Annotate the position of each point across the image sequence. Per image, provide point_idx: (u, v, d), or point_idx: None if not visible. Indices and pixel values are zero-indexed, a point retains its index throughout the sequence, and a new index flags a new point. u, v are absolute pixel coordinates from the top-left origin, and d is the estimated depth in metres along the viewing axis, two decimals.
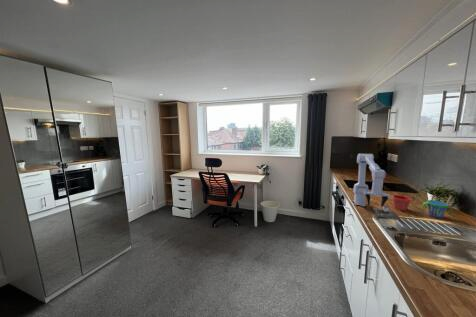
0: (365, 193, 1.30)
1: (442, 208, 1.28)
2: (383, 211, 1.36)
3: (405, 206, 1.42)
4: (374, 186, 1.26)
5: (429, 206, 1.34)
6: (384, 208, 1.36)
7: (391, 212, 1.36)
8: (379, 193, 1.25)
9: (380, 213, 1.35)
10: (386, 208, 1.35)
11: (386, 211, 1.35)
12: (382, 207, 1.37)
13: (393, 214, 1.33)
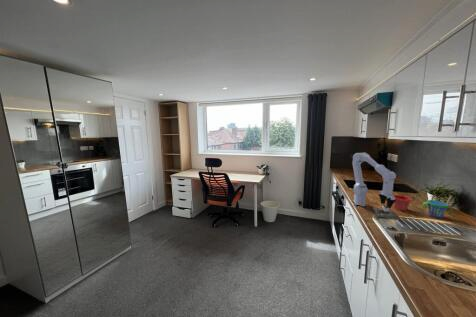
0: (380, 191, 1.42)
1: (442, 208, 1.28)
2: (383, 211, 1.36)
3: (405, 206, 1.42)
4: (388, 187, 1.32)
5: (429, 206, 1.34)
6: (384, 208, 1.36)
7: (391, 212, 1.36)
8: (384, 193, 1.34)
9: (380, 213, 1.35)
10: (386, 208, 1.35)
11: (386, 211, 1.35)
12: (382, 207, 1.37)
13: (393, 214, 1.33)
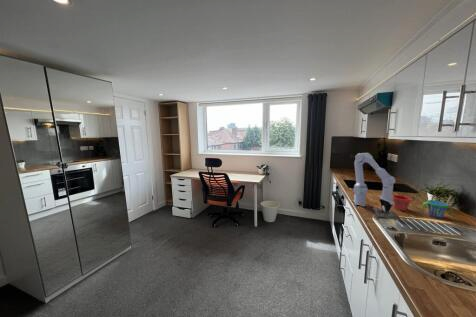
0: (379, 196, 1.42)
1: (442, 208, 1.28)
2: (383, 211, 1.36)
3: (405, 206, 1.42)
4: (387, 192, 1.32)
5: (429, 206, 1.34)
6: (384, 208, 1.36)
7: (391, 212, 1.36)
8: (383, 197, 1.35)
9: (380, 213, 1.35)
10: None
11: None
12: (382, 207, 1.37)
13: (393, 214, 1.33)
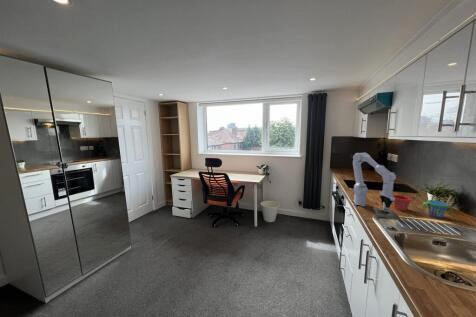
0: (380, 192, 1.42)
1: (442, 208, 1.28)
2: (383, 208, 1.36)
3: (405, 206, 1.42)
4: (387, 188, 1.32)
5: (429, 206, 1.34)
6: (384, 205, 1.35)
7: (391, 212, 1.36)
8: (384, 193, 1.34)
9: (380, 213, 1.35)
10: None
11: (386, 208, 1.35)
12: None
13: (393, 214, 1.33)
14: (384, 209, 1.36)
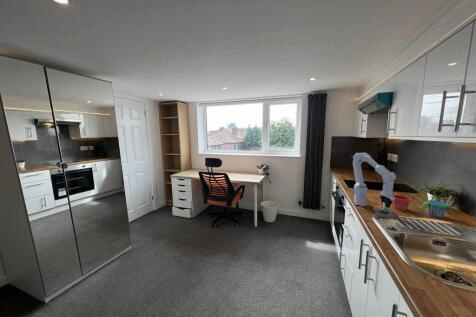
0: (380, 192, 1.42)
1: (442, 208, 1.28)
2: (383, 208, 1.36)
3: (405, 206, 1.42)
4: (387, 188, 1.32)
5: (429, 206, 1.34)
6: (384, 205, 1.35)
7: (391, 212, 1.36)
8: (384, 193, 1.34)
9: (380, 213, 1.35)
10: None
11: (386, 208, 1.35)
12: None
13: (393, 214, 1.33)
14: (384, 209, 1.36)
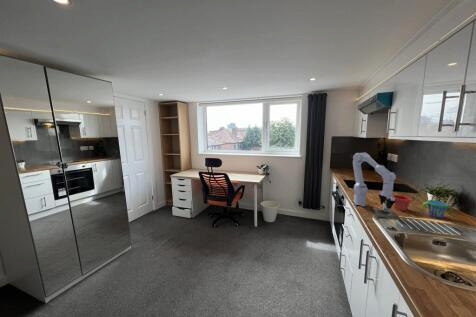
0: (380, 192, 1.42)
1: (442, 208, 1.28)
2: (383, 208, 1.36)
3: (405, 206, 1.42)
4: (387, 188, 1.32)
5: (429, 206, 1.34)
6: (384, 205, 1.35)
7: (391, 212, 1.36)
8: (384, 193, 1.34)
9: (380, 213, 1.35)
10: (386, 205, 1.35)
11: (386, 208, 1.35)
12: None
13: (393, 214, 1.33)
14: (384, 209, 1.36)
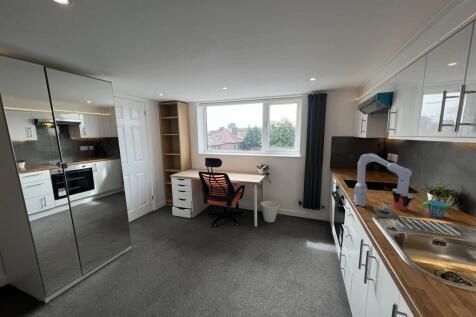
0: (393, 190, 1.35)
1: (442, 208, 1.28)
2: (383, 208, 1.36)
3: None
4: (404, 185, 1.25)
5: (429, 206, 1.34)
6: (384, 205, 1.35)
7: (391, 212, 1.36)
8: (399, 191, 1.28)
9: (380, 213, 1.35)
10: (386, 205, 1.35)
11: (386, 208, 1.35)
12: None
13: (393, 214, 1.33)
14: (384, 209, 1.36)
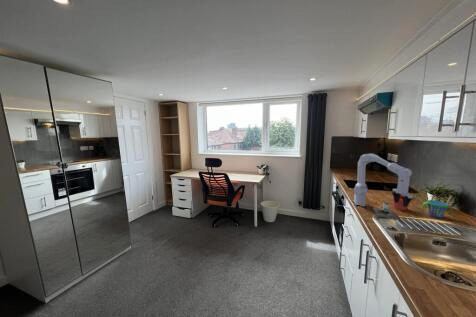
0: (393, 190, 1.35)
1: (442, 208, 1.28)
2: (383, 208, 1.36)
3: None
4: (404, 185, 1.25)
5: (429, 206, 1.34)
6: (384, 205, 1.35)
7: (391, 212, 1.36)
8: (399, 191, 1.28)
9: (380, 213, 1.35)
10: (386, 205, 1.35)
11: (386, 208, 1.35)
12: None
13: (393, 214, 1.33)
14: (384, 209, 1.36)
